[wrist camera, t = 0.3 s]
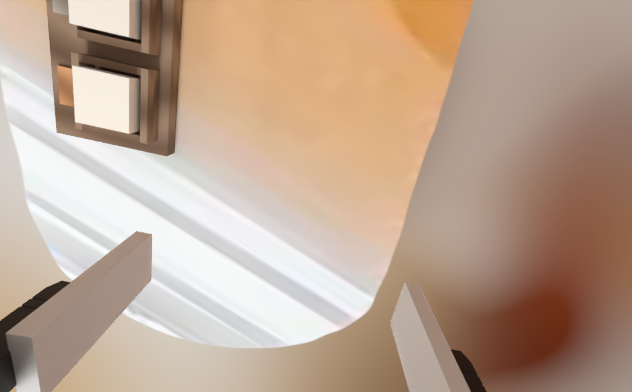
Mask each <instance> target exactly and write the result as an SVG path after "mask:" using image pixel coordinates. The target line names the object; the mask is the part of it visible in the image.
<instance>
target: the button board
mask: <svg viewBox="0 0 632 392" xmlns="http://www.w3.org/2000/svg"><path fill="white" fill-rule="evenodd" d="M182 2H183V0H142V36H141V40H138V39H134V38H129V37H125V36H121V35H117V34H112V33H108V32H104V31H99V30H95V29H91V28H87V27H82V26H78V25H74V24H70V23H69V7H68V0H46V3H47V15H48V28H49V40H50V53H51V66H52V78H53V91H54V104H55V116H56V129H57V133H62V134H66V135H71V136H75V137H80V138H85V139H89V140H94V141H99V142H103V143H108V144H113V145H117V146H122V147H127V148H131V149H136V150H141V151H145V152H150V153H155V154H159V155H164V156H168V155H171V154H173V153H174V146H175V128H176V110H177V92H178V74H179V56H180V38H181V20H182ZM72 65H74V66H86V67H92V68H97V69H101V70H105V71H110V72H114V73H119V74H123V75H127V76H132V77H136V78H141V100H140V131H138V132H134V133H130V134H128V133H123V132H119V131H114V130H109V129H105V128H100V127H96V126H91V125H86V124H82V123H77V122H75V111H74V94H73V77H72Z"/></svg>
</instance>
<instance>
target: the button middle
mask: <svg viewBox="0 0 632 392" xmlns="http://www.w3.org/2000/svg"><path fill="white" fill-rule="evenodd" d="M68 7H69V23H70V24H74V25H78V26H82V27H87V28H91V29H95V30H99V31H104V32H108V33H112V34H117V35H121V36H125V37H129V38H134V39H138V40H141V36H142V0H68Z"/></svg>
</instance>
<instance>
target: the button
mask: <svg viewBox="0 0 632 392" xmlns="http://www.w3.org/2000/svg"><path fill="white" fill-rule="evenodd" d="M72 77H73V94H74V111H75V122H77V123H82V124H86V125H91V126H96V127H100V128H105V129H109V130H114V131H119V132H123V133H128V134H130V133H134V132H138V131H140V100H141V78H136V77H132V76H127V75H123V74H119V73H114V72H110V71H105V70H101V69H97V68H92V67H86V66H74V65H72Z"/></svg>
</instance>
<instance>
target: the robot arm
mask: <svg viewBox="0 0 632 392" xmlns="http://www.w3.org/2000/svg"><path fill="white" fill-rule="evenodd" d="M151 263H152V234H148V233H143V232H137V231H136V232H135V233H134V234H133V235H131V236H130V237H129V238H127V239H126V240H125V241H124V242H122V243H121V244H120V245H118V246H117V247H116V248H115V249H113V250H112V251H111V252H109V253H108V254H107V255H106V256H104V257H103V258H102V259H100V260H99V261H98V262H97V263H95V264H94V265H93V266H91V267H90V268H89V269H88V270H86V271H85V272H84V273H82V274H81V275H80V276H78V277H77V278H76V279H75V280H73V281H72V282H65V281H60V282H58V283H56V284H53V285H51V286H49V287H46V288H45V289H43V290H42V291H41V292H39V293H38V294H37V295H35V296H34V297H33V298H32V299H30V300H28V301H27V302H25V303H24V304H23V305H22V307H19V308H17V309H16V310H14V311H13V312H12V313H10V314H9V315H8V316H6V317H5V318H4V319H2V320H1V321H0V392H9V391H11V390H12V389H13V388H14V387H15V386H16V389H17V392H52V391H53V389H54V388H55V387H56V386H57V385H58V384H59V383H60V382H61V380H62V379H63V378H64V377H65V376H66V375H67V374H68V373H69V371H70V370H71V369H72V368H73V367H74V366H75V365H76V364H77V362H78V361H79V360H80V359H81V358H82V357H83V356H84V355H85V353H86V352H87V351H88V350H89V349H90V348H91V347H92V346H93V345H94V343H95V342H96V341H97V340H98V339H99V338H100V337H101V335H102V334H103V333H104V332H105V331H106V330H107V329H108V328H109V327H110V325H111V324H112V323H113V322H114V321H115V320H116V319H117V318H118V316H119V315H120V314H121V313H122V312H123V311H124V310H125V309H126V307H127V306H128V305H129V304H130V303H131V302H132V301H133V300H134V298H135V297H136V296H137V295H138V294H139V293H140V292H141V291H142V289H143V288H144V287H145V286H146V285H147V284H148V283H149V282H150V280H151ZM390 324H391V327H392V331H393V335H394V338H395V342H396V345H397V349H398V353H399V356H400V359H401V363H402V367H403V370H404V374H405V378H406V381H407V384H408V388H409V392H486V390H485V388H484V387H483V386H482V382H481V380H480V378H479V377H478V376H477V373H476V371H475V369H474V368H473V365H472V364H471V362H470V361H469V360H468V359H467V357H466V356H465V355H464V354H463V353H462V352H461V351H456V350H451V349H450V347H449V345H448V343H447V341H446V339H445V337H444V335H443V333H442V331H441V329H440V327H439V325H438V322H437V320H436V318H435V316H434V314H433V312H432V310H431V308H430V306H429V304H428V302H427V300H426V298H425V295H424V293H423V291H422V289H421V287H420V285H419V284H414V283H409V282H405V283H404V286H403V289H402V292H401V294H400V297H399V300H398V303H397V306H396V308H395V311H394V314H393V316H392V319H391V322H390Z"/></svg>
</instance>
